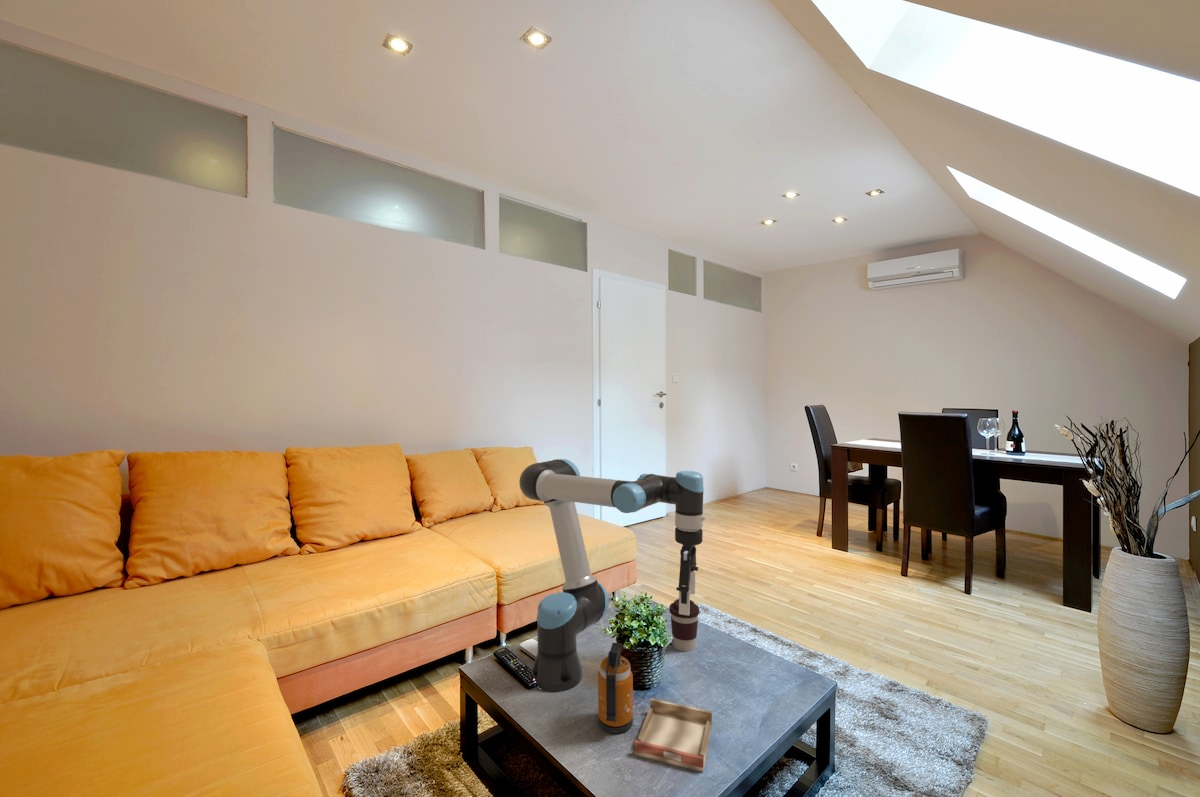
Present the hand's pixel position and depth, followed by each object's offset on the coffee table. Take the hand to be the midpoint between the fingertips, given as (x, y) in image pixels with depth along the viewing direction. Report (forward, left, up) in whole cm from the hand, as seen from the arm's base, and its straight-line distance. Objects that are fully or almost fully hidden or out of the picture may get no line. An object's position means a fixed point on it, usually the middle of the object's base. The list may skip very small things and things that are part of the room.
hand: (687, 603), depth 134 cm
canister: (-16, -18, -27) cm, 36 cm away
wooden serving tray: (0, -18, -27) cm, 32 cm away
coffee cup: (-6, +27, -27) cm, 39 cm away
